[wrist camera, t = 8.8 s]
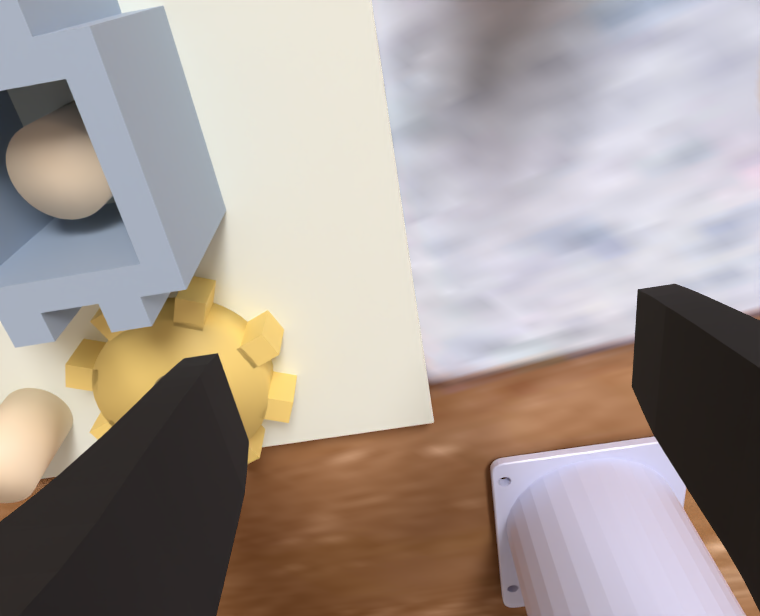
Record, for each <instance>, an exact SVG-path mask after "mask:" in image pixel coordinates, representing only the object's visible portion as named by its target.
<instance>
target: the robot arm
mask: <svg viewBox="0 0 760 616" xmlns="http://www.w3.org/2000/svg"><path fill="white" fill-rule="evenodd" d="M632 388H633V390H634V393H635V395H636V397H637V399H638V402H639V404H640V406H641V409H642V411H643V413H644V415H645V418H646V420H647V422H648V424H649V426H650V428H651V430H652V432H653V434H654V436H655V437H648V438H640V439H633V440H626V441H619V442H612V443H605V444H597V445H590V446H583V447H576V448H569V449H561V450H554V451H547V452H540V453H533V454H526V455H518V456H511V457H504V458H499V459H496V460H495V461H493V463H492V464H491V466H490V473H491V483H492V494H493V505H494V516H495V527H496V537H497V548H498V559H499V570H500V581H501V591H502V599H503V603H504V605H506V606H507V607H510V608H516V607H524V606H525V608H526V612H527V616H746V615H745V613H744V611H743V610H742V608H741V606H740V605H739V603H738V601H737V599H736V598H735V596H734V594H733V593H732V591H731V589H730V587H729V586H728V584H727V582H726V581H725V579H724V577H723V575H722V574H721V572H720V570H719V569H718V567H717V565H716V564H715V562H714V560H713V558H712V557H711V555H710V553H709V552H708V550H707V548H706V546H705V545H704V543H703V541H702V540H701V538H700V536H699V535H698V533H697V531H696V529H695V528H694V526H693V524H692V523H691V521H690V519H689V517H688V516H687V514H686V512H685V511H684V509H683V507H684V499H685V492H686V487H687V489H688V491H689V492H690V494H691V495H692V497H693V498H694V500H695V502H696V503H697V505H698V506H699V508H700V509H701V511H702V512H703V514H704V516H705V517H706V519H707V520H708V522H709V523H710V525H711V526H712V528H713V530H714V531H715V533H716V534H717V536H718V537H719V539H720V541H721V542H722V544H723V545H724V547H725V548H726V550H727V552H728V553H729V555H730V557H731V559H732V560H733V562H734V564H735V565H736V567H737V569H738V571H739V572H740V574H741V576H742V578H743V579H744V581H745V583H746V585H747V587H748V589H749V591H750V593H751V595H752V597H753V599H754V601H755V603H756V605H757V607H758V609H759V611H760V320H757V319H755V318H753V317H751V316H749V315H746V314H744V313H742V312H740V311H738V310H736V309H733V308H731V307H729V306H727V305H725V304H722V303H720V302H718V301H716V300H714V299H711V298H709V297H707V296H704V295H702V294H700V293H698V292H695V291H693V290H690V289H688V288H685V287H682V286H680V285H677V284H671V285H664V286H657V287H651V288H644V289H638V295H637V312H636V328H635V344H634V360H633V376H632ZM248 451H249V439H248V437H247V434H246V431H245V428H244V425H243V422H242V420H241V417H240V414H239V411H238V408H237V406H236V403H235V400H234V397H233V394H232V391H231V389H230V386H229V383H228V380H227V377H226V374H225V372H224V369H223V366H222V363H221V360H220V357H219V355H218V353H215V354H209V355H202V356H196V357H189V358H184V359H182V360H181V361H180V362H179V363H178V364H176V365H175V366H174V367H173V368H172V369H171V370H170V371H169V372H168V373H167V374H166V375H164V376H163V377H162V378H161V379H160V380H159V381H158V382H157V383H156V384H155V385H154V386H153V387H152V388H151V389H150V390H149V391H148V392H147V393H146V394H145V395H144V396H143V397H142V398H141V399H140V400H139V401H138V402H137V403H136V404H135V405H134V406H133V407H132V408H131V409H130V410H129V411H128V412H127V413H126V414H124V415H123V416H122V417H121V418H120V419H119V420H118V421H117V422H116V423H115V424H114V425H113V426H112V427H111V428H110V429H109V430H108V431H107V432H106V433H105V434H104V435H103V436H102V437H100V438H99V439H98V440H97V441H96V442H95V443H94V444H93V445H92V446H90V447H89V448H88V449H87V450H86V451H85V452H84V453H83V454H81V455H80V456H79V457H78V458H77V459H76V460H75V461H74V462H73V463H71V464H70V465H69V466H68V467H67V468H66V469H65V470H64V471H62V472H61V473H60V474H59V475H58V476H57V477H56V478H55V479H53V480H52V481H51V482H50V483H49V484H47V485H46V486H45V487H44V488H43V489H41V490H40V491H39V492H38V493H36V494H35V495H34V496H33V497H32V498H30V499H29V500H28V501H27V502H25V503H24V504H23V505H21V506H20V507H19V508H17V509H16V510H15V511H14V512H12V513H11V514H10V515H8V516H7V517H6V518H4V519H3V520H2V521H0V616H216V614H217V610H218V606H219V602H220V597H221V593H222V589H223V585H224V581H225V576H226V572H227V568H228V564H229V559H230V555H231V551H232V547H233V542H234V538H235V534H236V529H237V525H238V521H239V516H240V512H241V507H242V503H243V498H244V493H245V484H246V475H247V464H248ZM503 477H507V478H505V479H501V478H503Z"/></svg>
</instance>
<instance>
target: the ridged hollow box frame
mask: <svg viewBox="0 0 760 616" xmlns="http://www.w3.org/2000/svg"><path fill="white" fill-rule="evenodd" d="M63 79H66V80H67V83H68V85H69V88H70V90H71V93H72V95H73V98H74V100H75V103H76V105H77V108H78V110H79V113H80V115H81V117H82V120H83V122H84V125H85V127H86V130H87V132H88V135H89V137H90V140H91V142H92V145H93V147H94V150H95V152H96V155H97V157H98V160H99V162H100V165H101V167H102V170H103V172H104V175H105V177H106V180H107V182H108V185H109V187H110V190H111V192H112V195H113V197H114V200H115V203H109V204H105V205H104V206H103V207H102V208H101V209H99V210H98V211H97V212H96V213H94V214H92V215H90V216H88V217H85V218H81V219H73V220H71V219H60V218H56V217H53V216H50V215H47V214H45V213H43V212H41V211H39V210H38V209H36V208H34V207H33V206H32V205H30V204H29V203H28V202H27V201H26V200H25V199H24V198H23V197H22V196H21V195H20V194H19V193H18V191H17V190H16V188H15V187H14V185H13V183H12V182H11V179H10V177H9V175H8V171H7V167H6V151H7V147H8V144H9V142H10V140H11V138H12V137H13V136H14V134H15V133H16V132H17V131H19V130H20V129H21V128H23V125H22V123H21V120H20V118H19V116H18V114H17V111H16V109H15V107H14V105H13V103H12V100H11V98H10V96H9V94H8V92H7V90H8V89H13V88H19V87H24V86H30V85H35V84H41V83H46V82H52V81H57V80H63ZM225 212H226V207H225V204H224V201H223V198H222V194H221V191H220V188H219V185H218V181H217V178H216V175H215V172H214V168H213V165H212V162H211V159H210V155H209V152H208V149H207V146H206V142H205V139H204V136H203V133H202V129H201V126H200V123H199V120H198V116H197V113H196V110H195V106H194V103H193V100H192V97H191V93H190V90H189V87H188V84H187V80H186V77H185V74H184V71H183V67H182V64H181V61H180V58H179V54H178V51H177V48H176V45H175V41H174V38H173V35H172V32H171V28H170V25H169V22H168V19H167V15H166V12H165V9H164V6H158V7H153V8H147V9H142V10H137V11H131V12H126V13H122V12H121V9H120V6H119V4H118V1H117V0H0V321H1V323H2V325H3V327H4V329H5V330H6V332H7V334H8V336H9V338H10V339H11V341H12V343H13V345H14V347H15V348H17V347H23V346H30V345H36V344H42V343H49V342H55V341H56V340H57V338H58V337H59V336H60V335H61V333H62V332H63V331H64V329H65V328H66V327H67V325H68V324H69V323H70V322H71V320H72V319H73V318H74V316H75V315H76V314H77V313H78V311H79V310H80V309H81V307H82V306H88V305H94V304H99V306H100V308H101V311H102V313H103V315H104V317H105V319H106V321H107V324H108V326H109V328H110V330H111V332H118V331H124V330H130V329H137V328H143V327H149V326H152V325H153V324H154V322H155V320H156V318H157V316H158V314H159V313H160V311H161V309H162V307H163V305H164V303H165V302H166V300H167V298H168V296H169V294H170V292H174V291H181V290H186V289H187V287H188V285H189V283H190V281H191V279H192V277H193V275H194V273H195V271H196V270H197V268H198V266H199V264H200V262H201V260H202V258H203V256H204V254H205V252H206V250H207V248H208V246H209V244H210V242H211V240H212V238H213V236H214V234H215V232H216V230H217V228H218V226H219V224H220V222H221V220H222V218H223V216H224V214H225Z"/></svg>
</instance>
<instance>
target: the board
mask: <svg viewBox="0 0 760 616" xmlns="http://www.w3.org/2000/svg"><path fill="white" fill-rule="evenodd" d="M117 1H118V4H119V6H120V9H121V12H122V13H126V12H131V11H137V10H142V9H147V8H153V7H158V6H164V9H165V12H166V15H167V19H168V22H169V25H170V28H171V32H172V35H173V38H174V41H175V45H176V48H177V51H178V54H179V58H180V61H181V64H182V67H183V71H184V74H185V77H186V80H187V84H188V87H189V90H190V93H191V97H192V100H193V103H194V106H195V110H196V113H197V116H198V120H199V123H200V126H201V129H202V133H203V136H204V139H205V142H206V146H207V149H208V152H209V155H210V159H211V162H212V165H213V168H214V172H215V175H216V178H217V181H218V185H219V188H220V191H221V194H222V198H223V201H224V204H225V207H226V212H225V214H224V216H223V218H222V220H221V222H220V224H219V226H218V228H217V230H216V232H215V234H214V236H213V238H212V240H211V242H210V244H209V246H208V248H207V250H206V252H205V254H204V256H203V258H202V260H201V262H200V264H199V266H198V268H197V270H196V271H195V273H194V275H193V277H192V279H191V281H190V283H189V285H188V287H187V289H186V290H181V291H174V292H170V294H169V296H168V298H167V300H166V302H165V303H164V305H163V307H162V309H161V311H160V313H159V314H158V316H157V318H156V320H155V322H154V324H153V325H152V326H149V327H143V328H137V329H130V330H124V331H118V332H111V330H110V328H109V326H108V324H107V321H106V319H105V317H104V315H103V313H102V311H101V308H100V306H99V304H94V305H88V306H82V307H81V309H80V310H79V311H78V313H77V314H76V315H75V316H74V318H73V319H72V320H71V322H70V323H69V324H68V325H67V327H66V328H65V329H64V331H63V332H62V333H61V335H60V336H59V337H58V338H57V340H56V341H55V342H49V343H42V344H36V345H30V346H23V347H17V348H15V347H14V345H13V343H12V341H11V339H10V338H9V336H8V334H7V332H6V330H5V329H4V327H3V325H2V323H1V321H0V503H13V502H18V501H21V500H24V499H26V498H27V497H29V496H30V495H31V494H32V492H33V491H34V489H35V488H36V486H37V484H38V483H39V481H40V479H44V478H51V477H57V476H58V475H59V474H60V473H61V472H62V471H64V470H65V469H66V468H67V467H68V466H69V465H70V464H71V463H73V462H74V461H75V460H76V459H77V458H78V457H79V456H80V455H81V454H83V453H84V452H85V451H86V450H87V449H88V448H89V447H90V446H92V445H93V444H94V443H95V442H96V441H97V440H98V439H99V438H100V437H102V436H103V435H104V434H105V433H106V432H107V431H108V430H109V429H110V428H111V427H112V426H113V425H114V424H115V423H116V422H117V421H118V420H119V419H120V418H121V417H122V416H123V415H124V414H126V413H127V412H128V411H129V410H130V409H131V408H132V407H133V406H134V405H135V404H136V403H137V402H138V401H139V400H140V399H141V398H142V397H143V396H144V395H145V394H146V393H147V392H148V391H149V390H150V389H151V388H152V387H153V386H154V385H155V384H156V383H157V382H158V381H159V380H160V379H161V378H162V377H163V376H164V375H166V374H167V373H168V372H169V371H170V370H171V369H172V368H173V367H174V366H175V365H176V364H178V363H179V362H180V361H181V360H182V359H184V358H189V357H196V356H202V355H209V354H215V353H218V355H219V357H220V360H221V363H222V366H223V369H224V372H225V374H226V377H227V380H228V383H229V386H230V389H231V391H232V394H233V397H234V400H235V403H236V406H237V408H238V411H239V414H240V417H241V420H242V422H243V425H244V428H245V431H246V434H247V437H248V439H249V451H248V464H249V463H251V462H253V461H255V460H257V459H259V458H260V454H261V449H262V447H268V446H275V445H282V444H289V443H296V442H303V441H310V440H317V439H324V438H331V437H338V436H345V435H352V434H359V433H366V432H373V431H380V430H387V429H394V428H401V427H408V426H415V425H422V424H429V423H434V419H433V412H432V405H431V399H430V392H429V385H428V378H427V372H426V365H425V358H424V351H423V345H422V338H421V331H420V324H419V318H418V311H417V304H416V297H415V291H414V284H413V277H412V270H411V264H410V257H409V250H408V243H407V237H406V230H405V223H404V216H403V210H402V203H401V196H400V189H399V183H398V176H397V169H396V162H395V156H394V149H393V142H392V135H391V129H390V122H389V115H388V108H387V102H386V95H385V88H384V81H383V75H382V68H381V61H380V54H379V48H378V41H377V34H376V27H375V21H374V14H373V7H372V0H117ZM7 92H8V94H9V96H10V98H11V100H12V103H13V105H14V107H15V109H16V111H17V114H18V116H19V118H20V120H21V123H22V125H23V128H21V129H20V130H19V131H17V132H16V133H15V134H14V136H13V137H12V138H11V140H10V142H9V144H8V147H7V151H6V167H7V171H8V175H9V177H10V179H11V182H12V183H13V185H14V187H15V188H16V190H17V191H18V193H19V194H20V195H21V196H22V197H23V198H24V199H25V200H26V201H27V202H28V203H29V204H30V205H32V206H33V207H34V208H36V209H38V210H39V211H41V212H43V213H45V214H47V215H50V216H53V217H56V218H60V219H71V220H73V219H81V218H85V217H88V216H90V215H92V214H94V213H96V212H97V211H98V210H99V209H101V208H102V207H103V206H104V205H105V204H109V203H115V200H114V197H113V195H112V192H111V190H110V187H109V185H108V182H107V180H106V177H105V175H104V172H103V170H102V167H101V165H100V162H99V160H98V157H97V155H96V152H95V150H94V147H93V145H92V142H91V140H90V137H89V135H88V132H87V130H86V127H85V125H84V122H83V120H82V117H81V115H80V113H79V110H78V108H77V105H76V103H75V100H74V98H73V95H72V93H71V90H70V88H69V85H68V83H67V80H66V79H63V80H57V81H52V82H46V83H41V84H35V85H30V86H24V87H19V88H13V89H8V90H7Z"/></svg>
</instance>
